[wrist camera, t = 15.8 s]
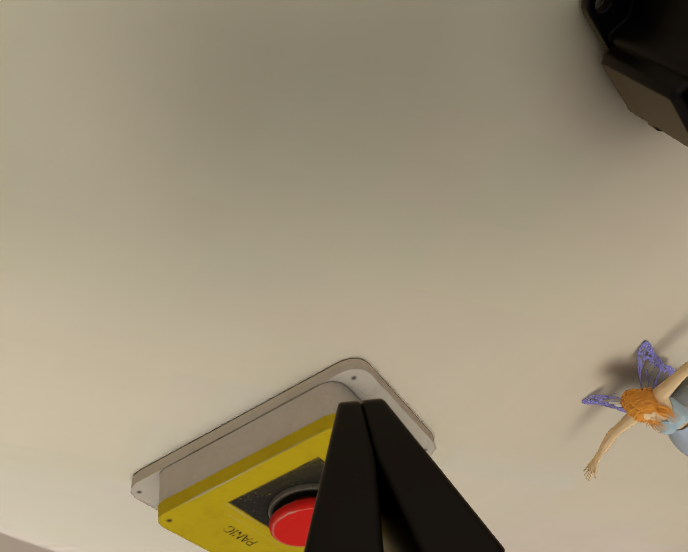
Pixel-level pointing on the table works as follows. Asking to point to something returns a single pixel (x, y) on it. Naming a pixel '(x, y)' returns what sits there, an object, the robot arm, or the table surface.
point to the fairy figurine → (650, 408)
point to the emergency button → (262, 466)
